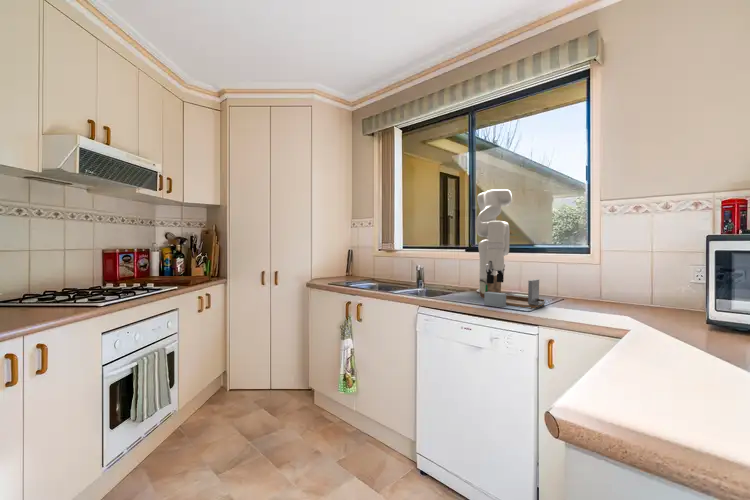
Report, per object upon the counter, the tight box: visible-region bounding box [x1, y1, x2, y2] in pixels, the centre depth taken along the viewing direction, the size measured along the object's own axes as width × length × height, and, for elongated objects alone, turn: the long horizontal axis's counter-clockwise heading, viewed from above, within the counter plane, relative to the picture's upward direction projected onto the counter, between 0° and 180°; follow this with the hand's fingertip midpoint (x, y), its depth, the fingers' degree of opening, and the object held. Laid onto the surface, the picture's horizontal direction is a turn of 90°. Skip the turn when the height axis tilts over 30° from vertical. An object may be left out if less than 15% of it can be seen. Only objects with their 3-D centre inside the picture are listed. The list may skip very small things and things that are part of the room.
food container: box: [479, 277, 488, 300], centre depth 189 cm, size 12×6×10 cm, turn 179°
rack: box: [488, 274, 545, 309], centre depth 171 cm, size 12×23×13 cm, turn 44°
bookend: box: [527, 278, 546, 305], centre depth 164 cm, size 9×5×11 cm, turn 134°
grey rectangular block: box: [483, 292, 507, 308], centre depth 167 cm, size 4×9×6 cm, turn 44°
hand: (495, 282), depth 166 cm, fingers open, 9 cm apart
